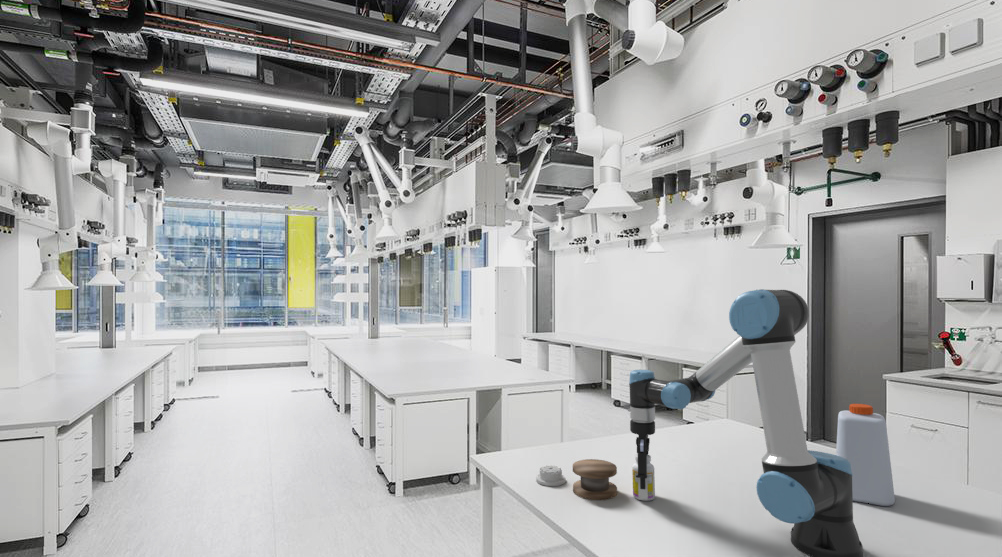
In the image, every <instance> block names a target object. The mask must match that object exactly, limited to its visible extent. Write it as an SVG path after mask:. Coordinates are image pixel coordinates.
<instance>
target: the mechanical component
mask: <svg viewBox="0 0 1002 557" xmlns="http://www.w3.org/2000/svg"><path fill="white" fill-rule="evenodd" d="M535 482H536V483H537V484H539V485H541V486H546V487H557V486H563V485H564V484H565V483H566V476H565V475H564V474H563V470H562V468H561V467H559V466H556V465H545V466H544V465H543V466H541V467H539V474H538V475H537V474H536V477H535Z"/></svg>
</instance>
